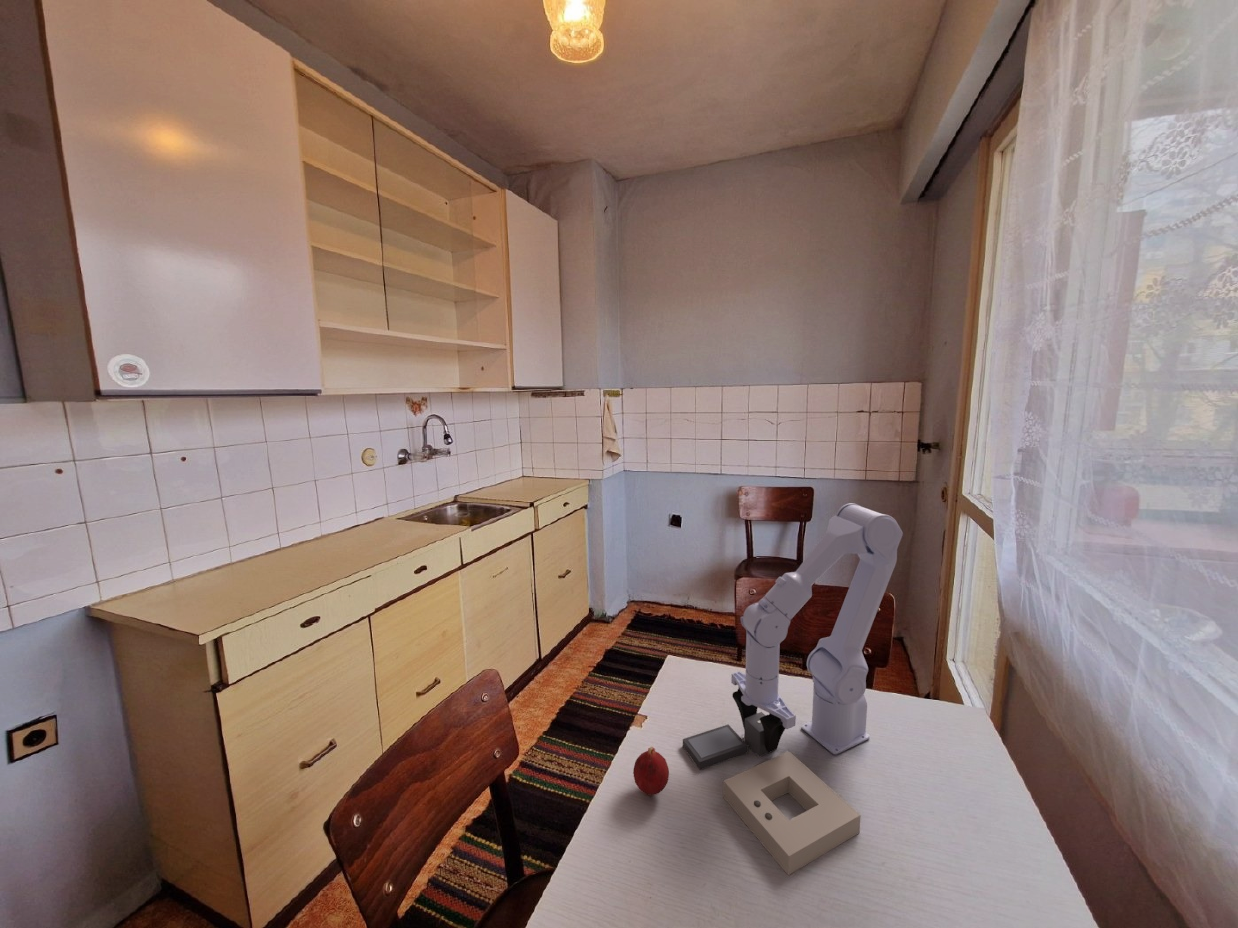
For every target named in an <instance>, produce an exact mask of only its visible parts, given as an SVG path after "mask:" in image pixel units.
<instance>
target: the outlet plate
mask: <svg viewBox="0 0 1238 928" xmlns="http://www.w3.org/2000/svg"><path fill="white" fill-rule="evenodd" d="M786 794H789V795H791V797H792V798H793V799H795V801H797V803H799V804H800V805H801V806H802V807H803V809H804V810H806V811H804V812H802V813H800V814H798V815H796V816H795V817H793V818H791V819H788V818H787V817H786V815H784V814H783V812H782V811H781V810H780V809H779V808H778V807H777V806H776V805H775V804H774V803H773V801H774V800H775V799H778V798H780V797H782V796H784V795H786ZM722 796H723V798H724V799H725V801H726V802H727V803H728V804H729V806H730V807H731V808H732V809H733V810H734V812H735V813H736V814H737V815H738V817H739V818H740V819H741V820H742V821H743V822H744V824H745V826H747V827H748V829H749V830H750V831H751V832H752V834H754V835H755V836H754V837H756V838H757V840H759V842H760V843H761V844H762V846H763V847H764V848H765V849H766V850H767V851H768V852H769V854H770V855H771V856H772V857H773V859H774V860H775V861H776V862H777V864H778V865H779V866H780V867H781V869H782V870H783V871H784V872H785V873H786V875H787V876H790V875H791V874H793V873H795V872H797V871H798V870H800V869H801V868H803V867H805V866H807V865H808V864H810V863H811V862H813V861H814V860H816V859H818V858H820V857H821V856H823V855H825V854H827V853H828V852H830V851H831V850H833V849H834V848H835V849H836V847H838V846H840V845H841V844H843V843H844V842H847V841H848V840H849V839H851V838H853V837H855V836H856V835H858V834H859V833H860V829H861V828H860V827H861V814H860V813H859V812H858V811H857V810H856V809H855V808H854V807H852V806H851V805H850V804H849V803H848V802H847V801H846V800H844V798H842V797H841V796H840V795H839V794H838V793H836V792H835V790H833V788H832V787H830V786H829V785H827V784H826V782H824V781H823V780H822V779H821V778H820V777H819V776H817V774H815V772H814V771H812V770H811V769H810V768H809V767H807V765H805V764H804V763H803V762H802V761H800V759H799V758H797V757H796V756H795V755H794V753H793V754H792V752H790V751H786V752H783V753H782V754H780V755H777V756H775V757H772V758H771V759H769V760H766V761H764V762H762V763H760V764H758V765H755V766H752V767H751V768H749V769H747V770H744V771H742V772H739V773H738V774H735V775H733V776H731V777H729V778H727V779H724V780H723V795H722Z"/></svg>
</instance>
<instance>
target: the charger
mask: <svg viewBox="0 0 1238 928" xmlns="http://www.w3.org/2000/svg"><path fill="white" fill-rule="evenodd" d="M766 715H767V714H765V713H764V712H762V711H761V712H757V714H755V715H752V716H750V717H747V718H745V729H744V728H743V730H744V734H743V736H744V737H743V738H744V739H743V741H744V742H745V743H746V744H747V745H748V749H750V750H751V751H752V752H753V753H754V754H756V756H757V757H758V758H760V757H763V756H764V755H767V754H769V753H770V752H768V751H766V748H765V735H764V729H763V726H762V723H761V721H760V718H761V717H763V716H766Z"/></svg>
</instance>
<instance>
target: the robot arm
mask: <svg viewBox="0 0 1238 928" xmlns="http://www.w3.org/2000/svg"><path fill="white" fill-rule="evenodd" d="M903 535H904V533H903V531H902V529H901V526H900V525H899V524H898V522H897V520H896V519H895V518H894V517H892V516H891V515H889V514H885V513H880V512H878V511H875V510H872V509H870V508H866V507H863V506H862V505H859V504H858V503H852V502H851V503H846V504H844V505H842V506H840V507H839V509H838V510H837V511H836V513H835V514H834V515H833V516H832V517H831V518H830V519H828V524H827V529H826V532H825V533H824V534H823V535H822V537H821V538H820V539H819V541H818V542H817V543H816V544H815V546H814V547H813V548H812V550H811V551H810V553H808V555H807V556H806V557H805V559H804V560H803V562H801V564H800V565H799V566H798V568H797V569H796V570H795V571H791V572H785V573H784V574H783V575H781V576H778V578H777V579H776V580H775V581H774V583H775V584H774V585H773V586H772V587H771V588H770V589H769V590H768V591H767V592H766V594H765V595H764V596H763V597H762V598H760V599H759V600H758V601H757V602H755V603H752V604H750V605H749V606H747V607H746V609H744V612H743V616H740V624H741V625H742V627H743V628H744V629H745V631H746V633H745V634H746V636H745V637H746V639H745V640H746V642H745V643H746V644H745V674H744V673H742V672H741V671H740V670H739V671H735V672H734V673H731V678H730V679H731V684H732V685H734V686H738V689H737V690H736V691H733V692H732V698H733V700H734V703H736V706H737V708H738V711H739V715H740V718H741V721H742V727H743V730H744V729H745V718H747V717H750V716H752V715H755V714H757V713H758V709H760V710H762V711H765V712H767V713H768V714H765V715H766V716H763V717H761V718H760V721H761V723H762V726H763V729H764V735H765V748H766V751H768V752H769V753H772V752H774V751H776V750H777V749H778V747H779V745H780V744H779V743H780V740H781V738H782V735H784V732H785V730H789V729H792V728H793V727H795V726H796V722H797V718H796V717H797V716H796V714H795V713H793V712H792V711H791V710H790V708H789V707H788V705H787V704H786V702H785V701H784V699H783V698H782V696H781V695H780V693H779V676H780V674H779V673H780V672H779V671H780V668H779V667H780V644H781V643H782V642H783V641H784V640H785V639H786V638H787V635H788V631H789V630H788V629H789V627H790V625H791V620H793V618H794V617H795V616H796V614H798V613H799V611H800V610H801V609H802V607H804V605H806V603H807V602H808V601H809V600H810V599H811V598H812V596H813V592H812V591H813V590H812V589H813V587H812V586H813V584H815V583H816V582H817V581H818V580H819V579H820V578H821V577H822V576H823V575H824V574H825V573H826V572H828V570H830V568H832V567H833V566H834V565H835V564H836V563H837V562H838V561H839V560H840V559H841V558H842V557H843V556H844V555H853V554H854V555H855V554H856V555H857V556H858V558H859V562H858V564H857V566H856V569H855V572H854V575H853V577H852V580H851V582H850V585H849V587H848V590H847V593H846V594H845V595H846V596H845V598H844V601H843V603H842V606H841V609H840V611H839V613H838V616H837V619H836V620H835V624H834V626H833V629H832V632H831V634H830V636H827V637H822V638H820V639H818V642H817V645H816V647H815V648H814V649H813V650H812V651H811V652H810V653H809V654H808V656H807V659H806V667H807V668H806V669H807V670H808V672H809V673H810V675H812V682H813V690H812V711H811V713H812V714H811V715H812V716H811V721H808V722H806V723H804V724H801V727H800V728H801V729H802V730H803V732H805V733H806V734H808V735H809V736H810V737H811V738H813V739H814V740H815V741H816V742H818V743H819V744H820V745H821V746H823V747H824V748H825V749H826V750H828V751H829V752H830V753H831V754H833V755H835V756H836V755H838V754H840V753H842V752H844V751H846V750H848V749H850V748H852V747H856V746H857V745H858V744H861V743H863V742H865V741H867V740H869V739H870V736H871V735H870V734H869V733H867V732H866V730H867V729H866V728H867V716H868V715H867V713H868V702H867V699H866V696H865V695H864V694H865V692H866V689H867V682H866V680H867V675H868V672H869V667H868V664H867V661H866V659H865V657H864V654H863V648H864V647H865V644H866V641H867V638H868V636H869V634H870V631H871V628H872V626H873V623H874V620H875V618H876V615H877V613H878V611H879V608H880V606H881V602H882V600H883V597H884V594H885V593H886V590H887V587H888V585H889V582H890V580H891V577H892V575H893V571H894V569H895V567H896V565H897V561H898V547H899V545H900V542H901V540H902V537H903Z"/></svg>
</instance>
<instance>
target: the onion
mask: <svg viewBox="0 0 1238 928" xmlns="http://www.w3.org/2000/svg"><path fill="white" fill-rule="evenodd" d="M669 770H670V769H669V766H668V763H667V760H666V759H665V757H664V756H663V755H662V754H661V753H659V752H658V751H656V748H654V747H653V746H650V747H648V749H647V750H646V751H644V752H642V753H641V754H640V755H638V757H637V758H636V760H635V763H634V766H633V773H632V774H633V779H634V784H635V785H636V786H637V788H638V789H639V790H640V791H641V792H642V793H643V794H645V795H649V796H654V795H658V794H659V793H662V791H663V790H664V789H665V788H666V786H667V784H668V782H669V775H670V771H669Z"/></svg>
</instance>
